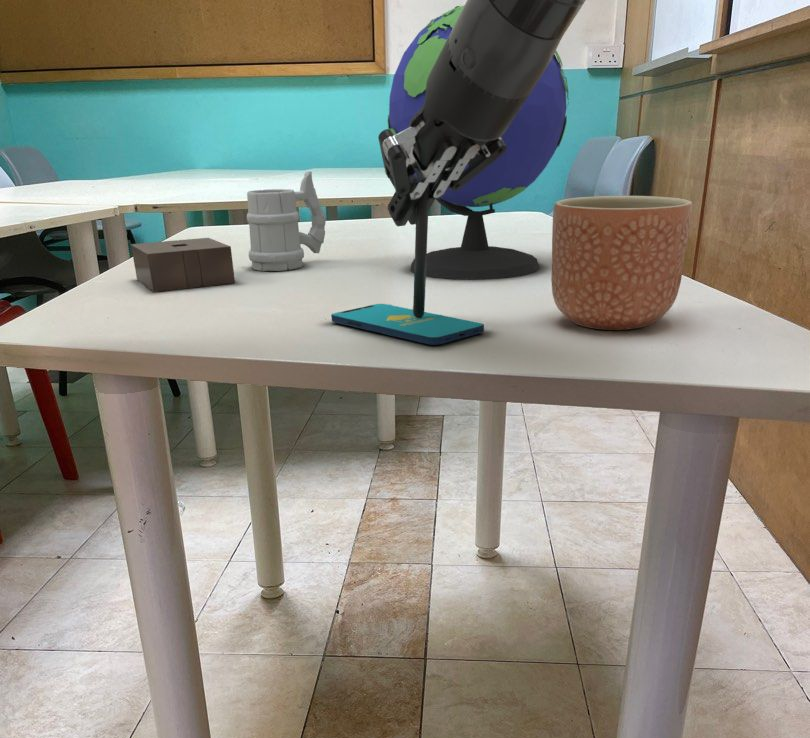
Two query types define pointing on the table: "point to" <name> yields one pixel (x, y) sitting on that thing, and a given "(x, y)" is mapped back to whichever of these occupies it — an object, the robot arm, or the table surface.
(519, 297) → the table surface
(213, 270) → the pen stand
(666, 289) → the planter
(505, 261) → the globe
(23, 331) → the table surface
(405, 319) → the smartphone
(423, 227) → the stylus
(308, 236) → the mug
